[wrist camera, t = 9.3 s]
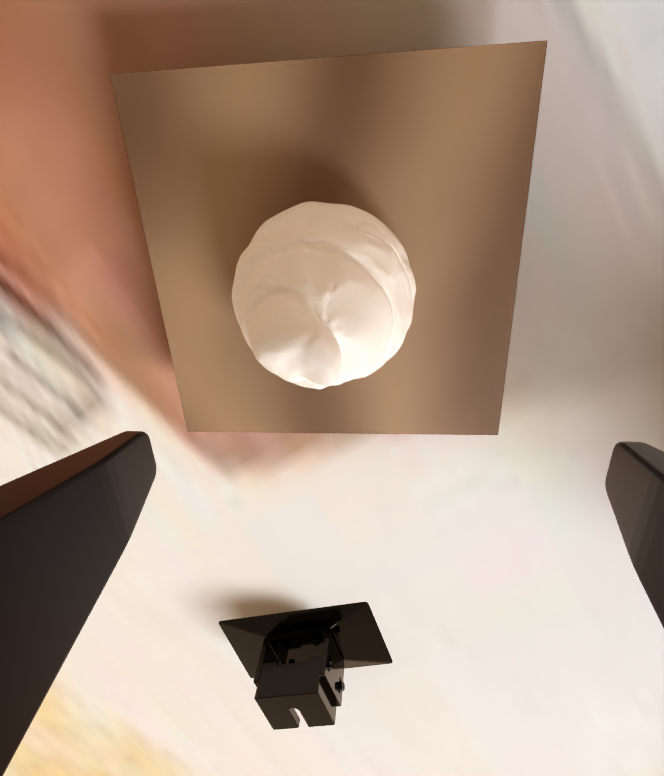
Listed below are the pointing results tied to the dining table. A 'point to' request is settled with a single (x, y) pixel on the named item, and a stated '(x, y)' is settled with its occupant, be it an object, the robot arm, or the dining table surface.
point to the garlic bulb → (323, 294)
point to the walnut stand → (350, 187)
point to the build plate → (305, 658)
